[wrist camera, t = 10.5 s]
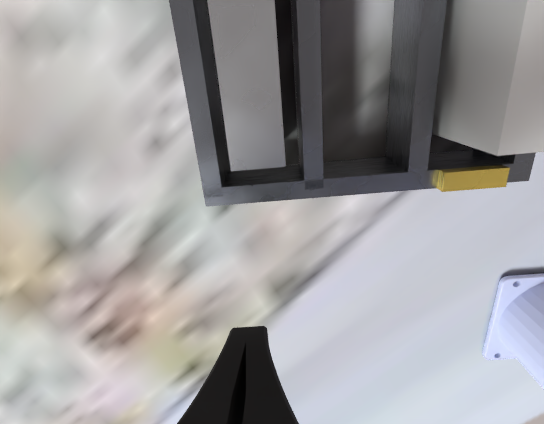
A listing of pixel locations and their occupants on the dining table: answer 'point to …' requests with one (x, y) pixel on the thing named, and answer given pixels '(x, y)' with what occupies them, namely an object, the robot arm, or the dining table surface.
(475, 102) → the block
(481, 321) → the dining table surface
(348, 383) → the dining table surface
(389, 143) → the rack
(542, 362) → the robot arm
